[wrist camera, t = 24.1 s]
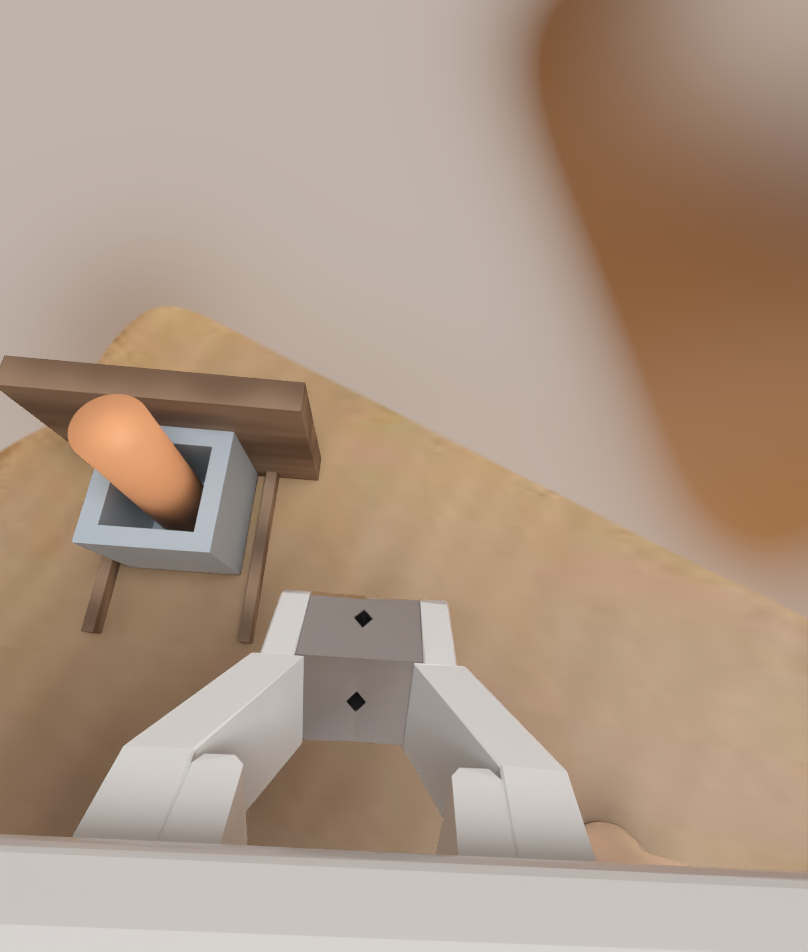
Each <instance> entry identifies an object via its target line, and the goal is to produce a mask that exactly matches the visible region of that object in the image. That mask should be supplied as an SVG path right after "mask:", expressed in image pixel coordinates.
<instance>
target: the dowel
mask: <svg viewBox="0 0 808 952" xmlns="http://www.w3.org/2000/svg"><path fill="white" fill-rule="evenodd" d="M68 441H69V443H70V446H71V447H72V449H73V450H74V451H75V452H76V453H77V454H78V455H79V456H80V457H82V458H83V459H84V460H85V461H86V462H87V463H89V464H90V465H91V466H92V467H93V468H94V469H96V470H97V471H98V472H99V473H100V474H101V475H102V476H104V477H105V478H106V479H107V480H108V481H109V482H111V483H112V484H113V485H114V486H115V487H116V488H118V489H119V490H120V491H121V492H122V493H123V494H124V495H126V496H127V497H128V498H129V499H130V500H131V501H133V502H134V503H135V504H136V505H137V506H138V507H140V508H141V509H142V510H143V511H144V512H145V513H146V514H148V515H149V516H150V517H151V518H152V519H153V520H155V521H156V522H157V523H158V524H159V525H160V526H162V527H163V528H164V529H165V530H173V531H187V532H194V529H195V524H196V520H197V515H198V510H199V506H200V501H201V497H202V492H203V488H204V485H203V484H202V482H201V481H200V480H199V478H198V477H197V475H196V474H195V473H194V471H193V470H192V469H191V467H190V466H189V465H188V463H187V462H186V461H185V459H184V458H183V457H182V455H181V454H180V453H179V451H178V450H177V449H176V447H175V446H174V444H173V443H172V442H171V440H170V439H169V438H168V436H167V435H166V434H165V432H164V431H163V430H162V428H161V427H160V426H159V424H158V423H157V422H156V420H155V419H154V418H153V416H152V415H151V413H150V412H149V411H148V409H147V408H146V407H145V406H144V404H143V403H142V402H140V401H139V400H138V399H136V398H134V397H132V396H128V395H124V394H109V395H104V396H101V397H98V398H95V399H93V400H91V401H89V402H88V403H86V404H85V405H84V406H82V407H81V408H80V409H79V410H78V411H77V412H76V413H75V415H74V416H73V418H72V420H71V422H70V424H69V427H68Z"/></svg>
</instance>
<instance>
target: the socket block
mask: <svg viewBox="0 0 808 952" xmlns="http://www.w3.org/2000/svg"><path fill="white" fill-rule="evenodd" d="M160 427H161V428H162V430H163V431H164V432H165V434H166V435H167V436H168V438H169V439H170V440H171V442H172V443H173V444H174V446H175V447H176V449H177V450H178V451H179V453H180V454H181V455H182V457H183V458H184V459H185V461H186V462H187V463H188V465H189V466H190V467H191V469H192V470H193V471H194V473H195V474H196V475H197V477H198V478H199V480H200V481H201V482H202V484H203V485H204V488H203V492H202V497H201V501H200V506H199V510H198V515H197V520H196V524H195V529H194V532H187V531H173V530H165V529H164V528H163V527H162V526H160V525H159V524H158V523H157V522H156V521H155V520H153V519H152V518H151V517H150V516H149V515H148V514H146V513H145V512H144V511H143V510H142V509H141V508H140V507H138V506H137V505H136V504H135V503H134V502H133V501H131V500H130V499H129V498H128V497H127V496H126V495H124V494H123V493H122V492H121V491H120V490H119V489H118V488H116V487H115V486H114V485H113V484H112V483H111V482H109V481H108V480H107V479H106V478H105V477H104V476H102V475H101V474H100V473H99V472H98V471H97V470H96V469H94V471H93V475H92V478H91V481H90V485H89V488H88V491H87V494H86V498H85V501H84V504H83V507H82V511H81V514H80V517H79V520H78V524H77V527H76V530H75V533H74V537H73V540H72V543H74V544H77V545H79V546H81V547H84V548H86V549H88V550H91V551H93V552H95V553H98V554H100V555H102V556H105V557H107V558H110V559H112V560H114V561H117V562H119V563H121V564H124V565H126V566H128V567H135V568H149V569H163V570H177V571H191V572H205V573H219V574H233V575H240V573H241V567H242V562H243V556H244V550H245V545H246V539H247V534H248V528H249V522H250V517H251V511H252V505H253V500H254V494H255V489H256V483H257V477H258V474H257V472H256V470H255V469H254V467H253V465H252V463H251V461H250V460H249V458H248V456H247V454H246V452H245V451H244V449H243V447H242V445H241V443H240V442H239V440H238V438H237V436H236V434H235V433H234V432H228V431H217V430H205V429H193V428H181V427H170V426H160Z"/></svg>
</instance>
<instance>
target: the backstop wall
mask: <svg viewBox="0 0 808 952" xmlns="http://www.w3.org/2000/svg"><path fill="white" fill-rule="evenodd" d="M0 390H1V391H2V392H3V393H5V394H6V395H7V396H8V397H10V398H11V399H12V400H14V401H15V402H16V403H18V404H19V405H20V406H22V407H23V408H24V409H26V410H27V411H28V412H30V413H31V414H33V415H34V416H35V417H36V418H38V419H39V420H40V421H41V422H43V423H44V424H45V425H47V426H48V427H49V428H51V429H52V430H53V431H55V432H56V433H57V434H59V435H60V436H61V437H63V438H64V439H65V440H67V441H68V427H69V424H70V422H71V420H72V418H73V416H74V415H75V413H76V412H77V411H78V410H79V409H80V408H81V407H82V406H84V405H85V404H86V403H88V402H89V401H91V400H93V399H95V398H98V397H101V396H104V395H109V394H124V395H128V396H132V397H134V398H136V399H138V400H139V401H140V402H142V403H143V404H144V406H145V407H146V408H147V409H148V411H149V412H150V413H151V415H152V416H153V418H154V419H155V420H156V422H157V423H158V424H159V426H170V427H181V428H193V429H205V430H217V431H228V432H234V433H235V434H236V436H237V438H238V440H239V442H240V443H241V445H242V447H243V449H244V451H245V452H246V454H247V456H248V458H249V460H250V461H251V463H252V465H253V467H254V469H255V470H256V472H257V474H258V476H266V479H265V485H264V490H263V496H262V502H261V508H260V514H259V520H258V525H257V531H256V537H255V543H254V549H253V555H252V560H251V566H250V572H249V578H248V584H247V589H246V595H245V601H244V607H243V613H242V619H241V624H240V630H239V636H238V642H245V643H253V637H254V631H255V625H256V618H257V612H258V606H259V600H260V594H261V587H262V581H263V575H264V569H265V563H266V556H267V550H268V544H269V538H270V531H271V525H272V519H273V513H274V507H275V500H276V494H277V488H278V482H279V477H281V478H293V479H305V480H318V478H319V470H320V462H321V456H320V451H319V446H318V442H317V437H316V432H315V427H314V423H313V418H312V413H311V408H310V403H309V399H308V394H307V389H306V384H305V383H302V382H291V381H280V380H269V379H258V378H247V377H236V376H225V375H214V374H203V373H191V372H180V371H169V370H158V369H147V368H136V367H125V366H114V365H103V364H92V363H81V362H69V361H58V360H48V359H36V358H26V357H14V356H4V358H3V360H2V363H1V365H0ZM68 442H69V441H68ZM119 565H120V563H119V562H117V561H114V560H112V559H110V558H107V557H105V556H102V559H101V562H100V566H99V569H98V573H97V576H96V580H95V583H94V587H93V591H92V594H91V598H90V601H89V605H88V608H87V612H86V615H85V619H84V622H83V626H82V630H81V631H83V632H92V633H101V632H102V628H103V625H104V621H105V617H106V613H107V610H108V606H109V602H110V598H111V595H112V591H113V587H114V584H115V580H116V576H117V572H118V569H119Z"/></svg>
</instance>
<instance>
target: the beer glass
mask: <svg viewBox="0 0 808 952" xmlns="http://www.w3.org/2000/svg"><path fill="white" fill-rule="evenodd" d="M584 826H585V829H586V832H587V835H588V838H589V841H590V844H591V847H592V850H593V853H594V856H595V859H596V862H615V863H636V864H657V865H678V866H690V865H688V864H685V863H682V862H679V861H676V860H672V859H669V858H665V857H661V856H657V855H654V854H650V853H648V852H646V851H645V850H644V849H643V848H642V847H641V845H640V844H639V843H638V842H637V841H636V840H635V839H634V838H633V837H632V836H631V835H630V834H629V833H628V832H626V831H625V830H624V829H622V828H621V827H619V826H617V825H615V824H612V823H608V822H591V823H588V824H585V825H584Z"/></svg>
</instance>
